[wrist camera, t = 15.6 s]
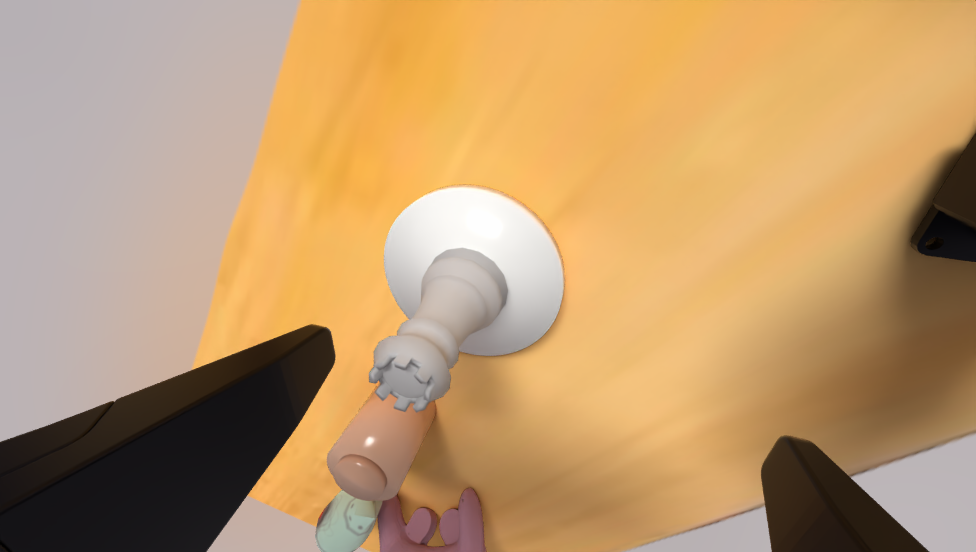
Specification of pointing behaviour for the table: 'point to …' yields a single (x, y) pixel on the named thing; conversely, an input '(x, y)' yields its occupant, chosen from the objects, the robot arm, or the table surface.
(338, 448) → the cup
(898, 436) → the table surface
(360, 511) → the robot head
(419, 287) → the coaster
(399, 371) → the rook chess piece
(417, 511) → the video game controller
